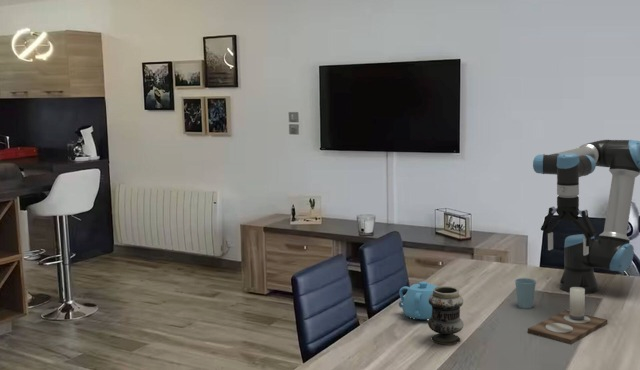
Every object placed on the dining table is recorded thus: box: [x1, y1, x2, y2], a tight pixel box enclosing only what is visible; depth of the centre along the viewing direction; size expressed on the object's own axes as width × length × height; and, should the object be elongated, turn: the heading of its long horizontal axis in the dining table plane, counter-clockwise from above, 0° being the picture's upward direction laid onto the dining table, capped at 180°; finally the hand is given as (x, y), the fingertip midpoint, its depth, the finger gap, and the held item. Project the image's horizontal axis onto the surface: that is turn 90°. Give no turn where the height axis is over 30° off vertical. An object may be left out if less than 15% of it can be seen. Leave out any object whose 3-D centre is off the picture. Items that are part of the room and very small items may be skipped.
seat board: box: [527, 309, 608, 345], centre depth 235 cm, size 27×16×2 cm, turn 132°
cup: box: [514, 277, 537, 309], centre depth 260 cm, size 8×8×10 cm
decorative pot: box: [398, 280, 438, 320], centre depth 252 cm, size 16×16×14 cm
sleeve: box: [569, 287, 586, 321], centre depth 238 cm, size 5×5×11 cm
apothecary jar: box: [427, 285, 464, 345], centre depth 227 cm, size 12×12×18 cm
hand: (567, 252), depth 245 cm, fingers open, 13 cm apart
